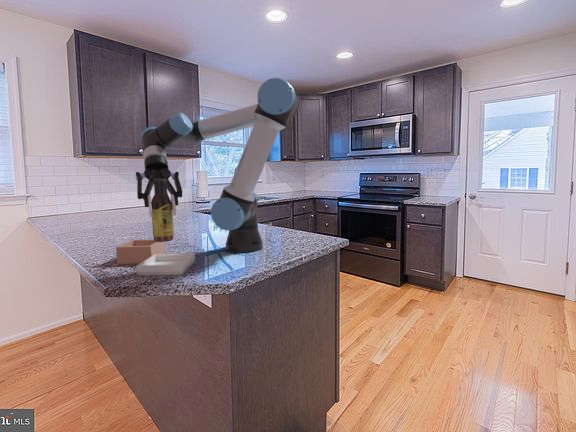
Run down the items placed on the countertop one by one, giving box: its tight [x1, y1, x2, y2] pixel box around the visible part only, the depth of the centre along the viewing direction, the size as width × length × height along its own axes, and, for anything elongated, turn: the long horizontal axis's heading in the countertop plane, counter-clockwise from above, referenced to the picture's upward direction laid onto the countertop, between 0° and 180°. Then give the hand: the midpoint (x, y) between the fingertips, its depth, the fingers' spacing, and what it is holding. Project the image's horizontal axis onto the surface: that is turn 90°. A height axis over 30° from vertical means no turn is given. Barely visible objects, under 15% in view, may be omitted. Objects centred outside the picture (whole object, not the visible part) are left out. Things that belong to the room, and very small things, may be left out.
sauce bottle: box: [151, 179, 175, 243], centre depth 101 cm, size 7×6×20 cm
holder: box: [115, 238, 166, 265], centre depth 116 cm, size 12×12×6 cm
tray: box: [135, 253, 196, 277], centre depth 103 cm, size 14×14×3 cm
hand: (163, 213), depth 98 cm, fingers closed on sauce bottle, 6 cm apart
